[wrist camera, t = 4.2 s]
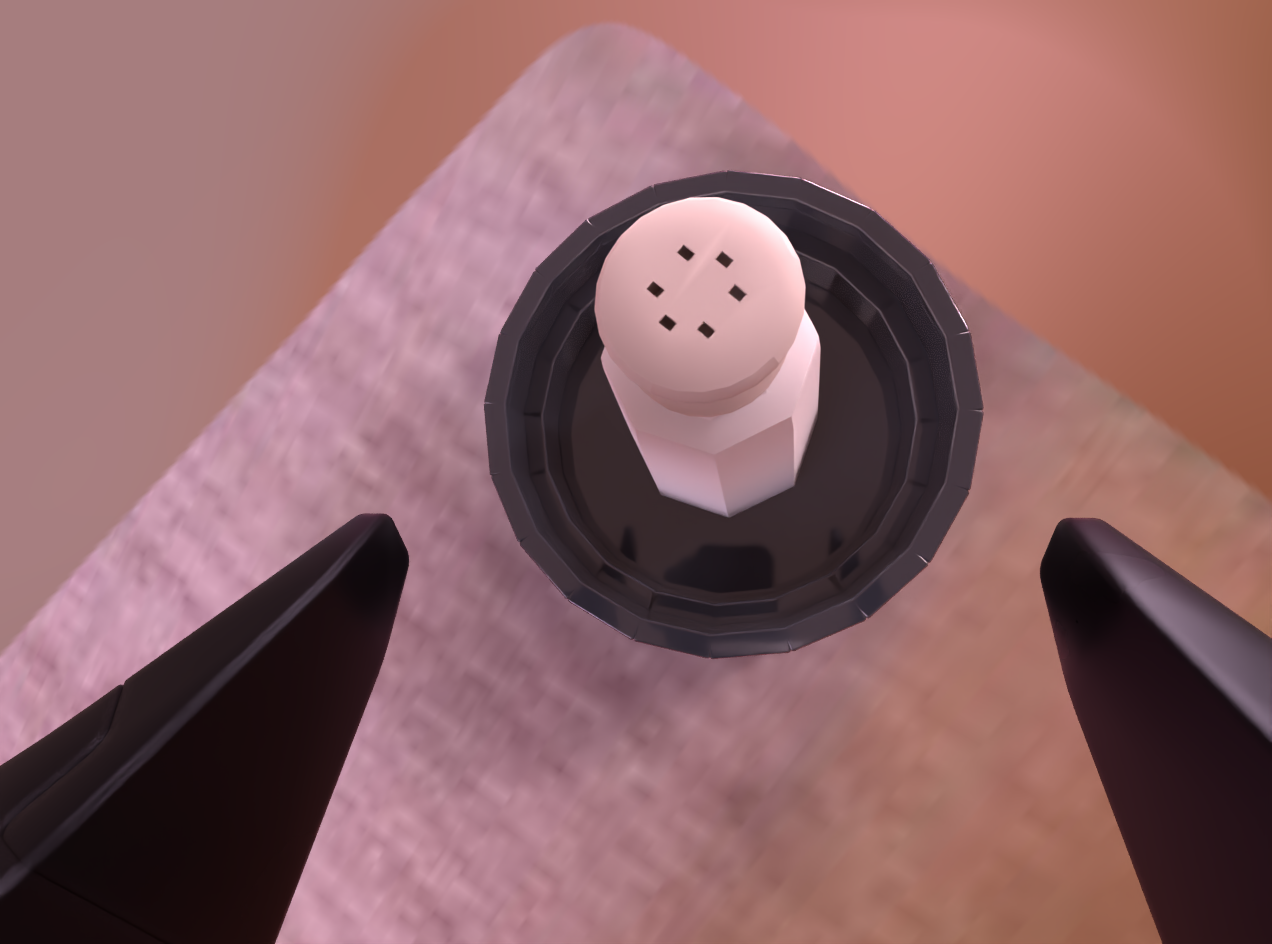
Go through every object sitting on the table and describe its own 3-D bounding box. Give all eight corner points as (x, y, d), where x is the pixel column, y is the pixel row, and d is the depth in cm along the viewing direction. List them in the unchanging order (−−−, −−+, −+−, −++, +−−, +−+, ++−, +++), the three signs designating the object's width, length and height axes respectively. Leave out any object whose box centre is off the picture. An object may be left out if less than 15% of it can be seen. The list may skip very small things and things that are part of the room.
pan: (970, 260, 19) (1021, 199, 16) (897, 679, 18) (933, 713, 15) (571, 211, 21) (538, 149, 18) (492, 585, 20) (441, 595, 17)
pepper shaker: (731, 557, 19) (716, 590, 8) (595, 436, 20) (419, 322, 9) (857, 415, 19) (1013, 254, 8) (713, 300, 20) (678, 17, 9)
